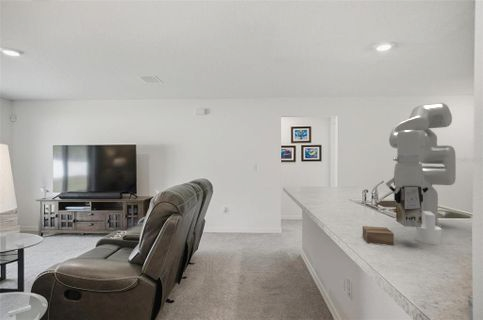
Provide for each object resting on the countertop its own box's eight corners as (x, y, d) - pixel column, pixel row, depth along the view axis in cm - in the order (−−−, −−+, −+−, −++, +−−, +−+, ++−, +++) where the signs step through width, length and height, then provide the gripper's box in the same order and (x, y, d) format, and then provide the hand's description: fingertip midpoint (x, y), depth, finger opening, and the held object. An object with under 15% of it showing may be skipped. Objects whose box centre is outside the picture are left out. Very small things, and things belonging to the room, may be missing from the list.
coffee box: (422, 227, 101) (422, 186, 101) (404, 226, 102) (404, 186, 102) (412, 221, 110) (411, 184, 109) (395, 221, 111) (395, 183, 111)
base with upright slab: (414, 236, 117) (414, 210, 117) (438, 239, 113) (438, 212, 113) (417, 242, 109) (417, 214, 109) (444, 245, 105) (444, 216, 105)
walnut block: (362, 236, 118) (362, 226, 118) (386, 238, 115) (386, 227, 115) (367, 243, 108) (367, 232, 108) (393, 246, 105) (393, 233, 105)
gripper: (385, 160, 105) (385, 203, 106) (436, 160, 99) (436, 206, 99) (382, 160, 112) (383, 200, 113) (430, 159, 106) (430, 202, 106)
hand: (408, 202), depth 106 cm, fingers closed on coffee box, 7 cm apart
